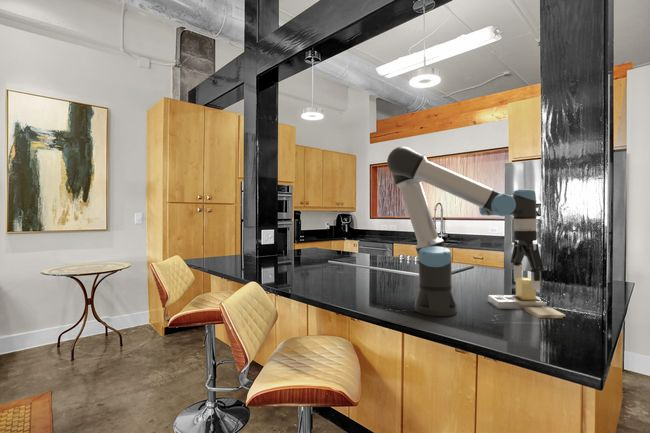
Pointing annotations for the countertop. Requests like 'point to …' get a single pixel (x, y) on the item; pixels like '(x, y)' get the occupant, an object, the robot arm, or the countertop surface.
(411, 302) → the countertop surface
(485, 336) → the countertop surface
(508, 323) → the countertop surface
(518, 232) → the robot arm
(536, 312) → the coaster
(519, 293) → the block
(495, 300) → the white recessed slab
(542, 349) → the countertop surface
